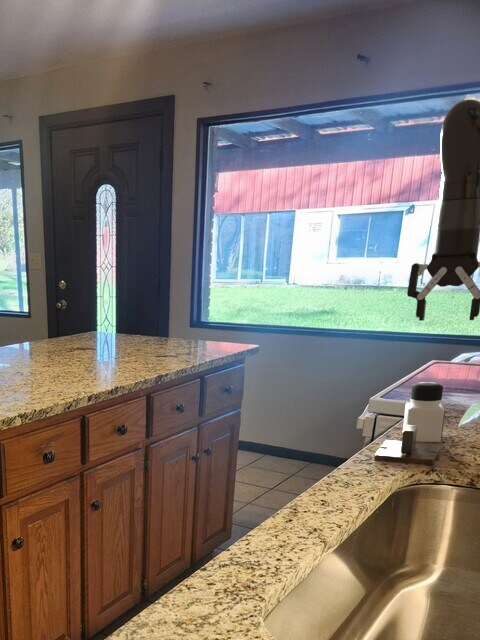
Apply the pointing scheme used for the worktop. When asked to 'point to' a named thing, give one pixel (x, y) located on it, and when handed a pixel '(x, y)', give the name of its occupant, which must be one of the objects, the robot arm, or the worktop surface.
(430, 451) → the panel
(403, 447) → the dark grey upright block
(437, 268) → the robot arm
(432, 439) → the medicine bottle
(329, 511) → the worktop surface
